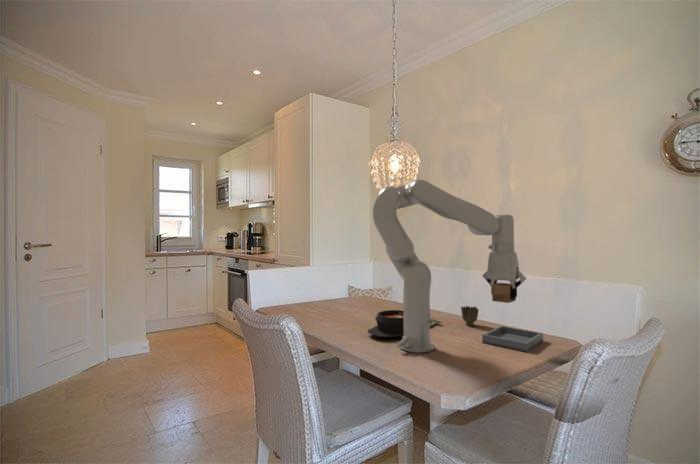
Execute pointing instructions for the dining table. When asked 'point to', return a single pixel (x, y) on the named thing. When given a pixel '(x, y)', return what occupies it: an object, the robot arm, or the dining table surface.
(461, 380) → the dining table surface
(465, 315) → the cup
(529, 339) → the tray
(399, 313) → the casserole
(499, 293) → the walnut block
